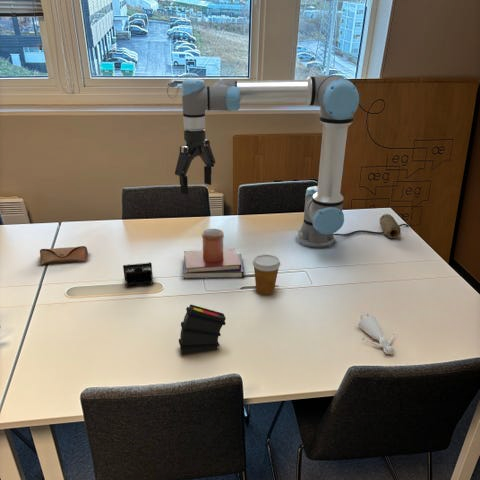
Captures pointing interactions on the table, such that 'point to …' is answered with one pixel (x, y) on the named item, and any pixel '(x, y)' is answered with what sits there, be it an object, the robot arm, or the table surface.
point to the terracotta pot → (213, 245)
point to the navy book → (215, 273)
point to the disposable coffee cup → (265, 273)
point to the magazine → (200, 330)
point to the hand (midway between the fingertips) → (196, 188)
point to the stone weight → (389, 226)
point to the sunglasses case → (63, 255)
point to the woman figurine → (375, 333)
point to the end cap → (138, 274)
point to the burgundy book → (199, 265)
